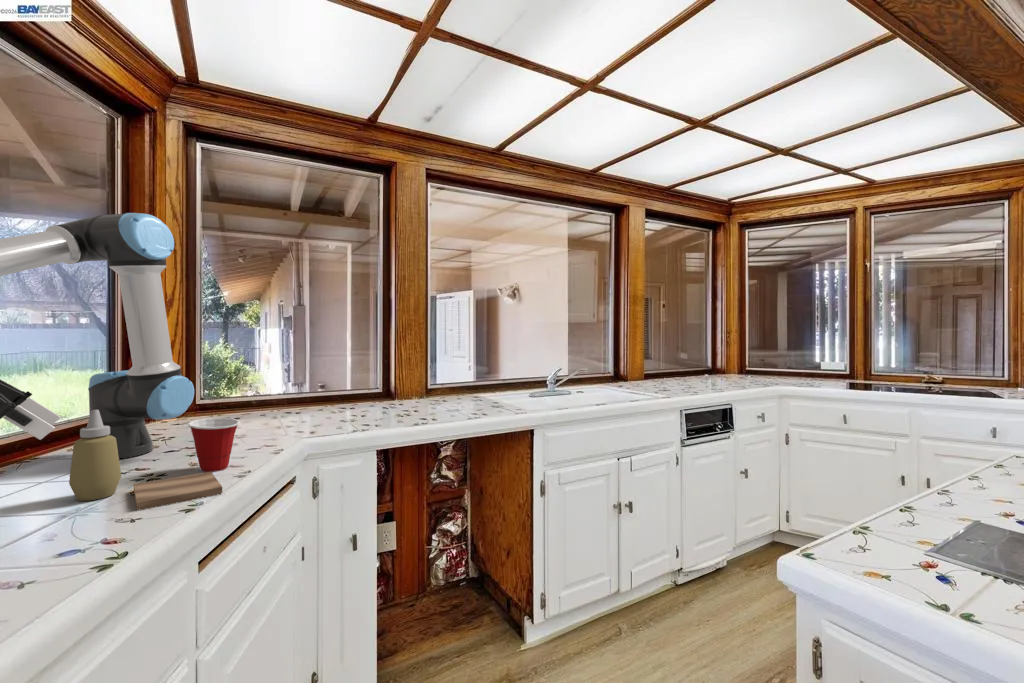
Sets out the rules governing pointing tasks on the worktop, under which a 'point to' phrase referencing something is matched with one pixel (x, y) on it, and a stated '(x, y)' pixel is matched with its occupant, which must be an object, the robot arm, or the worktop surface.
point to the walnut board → (176, 490)
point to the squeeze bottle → (95, 461)
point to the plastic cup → (213, 441)
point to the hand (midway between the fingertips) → (51, 428)
